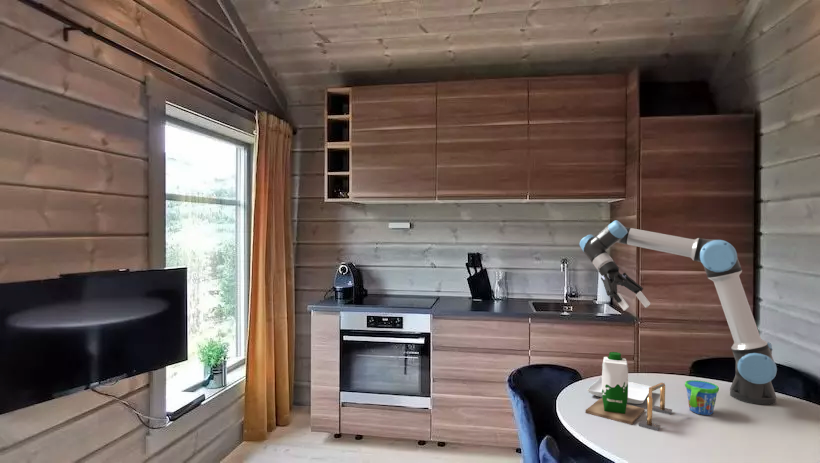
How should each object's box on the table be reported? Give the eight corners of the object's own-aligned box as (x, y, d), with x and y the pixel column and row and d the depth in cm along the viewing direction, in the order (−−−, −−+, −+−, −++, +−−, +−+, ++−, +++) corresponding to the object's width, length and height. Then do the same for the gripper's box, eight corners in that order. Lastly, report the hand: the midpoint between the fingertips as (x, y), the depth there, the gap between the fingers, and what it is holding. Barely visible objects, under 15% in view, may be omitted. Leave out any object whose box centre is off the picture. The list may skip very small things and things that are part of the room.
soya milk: (626, 406, 183) (627, 352, 182) (628, 415, 174) (629, 359, 174) (601, 403, 186) (602, 350, 185) (601, 411, 177) (602, 356, 177)
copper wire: (672, 412, 180) (672, 383, 180) (657, 430, 164) (658, 399, 164) (654, 408, 184) (655, 380, 184) (638, 425, 168) (639, 395, 167)
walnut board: (644, 411, 181) (644, 408, 181) (632, 424, 169) (632, 421, 169) (600, 400, 191) (600, 398, 191) (585, 412, 179) (585, 410, 179)
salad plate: (600, 383, 213) (600, 375, 213) (654, 394, 200) (654, 385, 200) (585, 397, 195) (585, 388, 195) (643, 410, 183) (644, 400, 183)
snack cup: (697, 403, 189) (697, 376, 189) (726, 412, 181) (727, 384, 180) (675, 411, 181) (675, 384, 181) (705, 421, 172) (706, 392, 172)
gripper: (619, 270, 217) (650, 310, 204) (580, 273, 204) (611, 315, 191) (630, 259, 212) (663, 299, 199) (591, 261, 199) (623, 303, 187)
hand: (637, 307), depth 195 cm, fingers open, 13 cm apart
